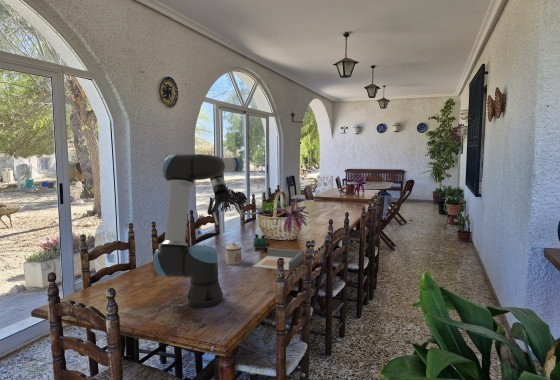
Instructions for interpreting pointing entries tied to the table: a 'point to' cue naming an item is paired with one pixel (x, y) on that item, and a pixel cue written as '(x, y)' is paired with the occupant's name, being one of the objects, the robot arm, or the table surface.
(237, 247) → the teacup with lid
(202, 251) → the robot arm
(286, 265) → the tray
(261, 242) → the binoculars
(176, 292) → the table surface
